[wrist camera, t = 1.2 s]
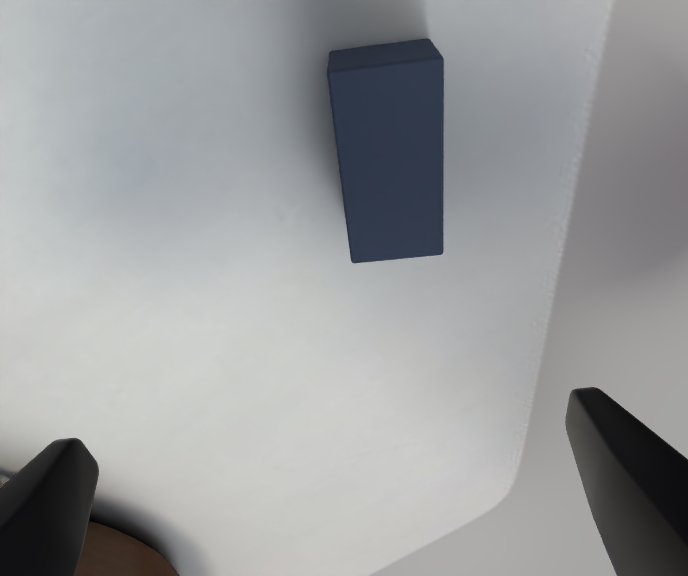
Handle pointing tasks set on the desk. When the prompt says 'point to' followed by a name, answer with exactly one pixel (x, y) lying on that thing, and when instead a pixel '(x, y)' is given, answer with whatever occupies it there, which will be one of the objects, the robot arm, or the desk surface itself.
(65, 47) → the desk surface
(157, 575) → the dish
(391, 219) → the eraser
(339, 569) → the desk surface
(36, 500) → the robot arm
